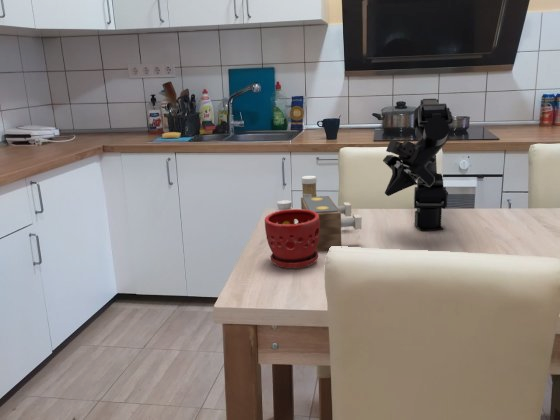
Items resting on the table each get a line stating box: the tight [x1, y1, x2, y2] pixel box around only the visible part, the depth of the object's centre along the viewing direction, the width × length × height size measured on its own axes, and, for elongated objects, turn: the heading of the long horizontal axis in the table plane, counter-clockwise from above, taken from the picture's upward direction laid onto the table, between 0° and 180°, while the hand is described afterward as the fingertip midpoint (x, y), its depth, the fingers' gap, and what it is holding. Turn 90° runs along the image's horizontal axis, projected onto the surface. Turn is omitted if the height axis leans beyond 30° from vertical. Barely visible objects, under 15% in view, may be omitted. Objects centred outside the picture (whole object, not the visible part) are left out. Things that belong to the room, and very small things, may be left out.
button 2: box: [341, 213, 363, 231], centre depth 140 cm, size 10×3×3 cm, turn 94°
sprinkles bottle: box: [301, 175, 317, 198], centre depth 167 cm, size 5×5×14 cm
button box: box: [300, 195, 342, 253], centre depth 146 cm, size 8×19×10 cm, turn 4°
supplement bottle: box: [275, 199, 296, 224], centre depth 152 cm, size 5×5×10 cm
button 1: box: [335, 202, 352, 217], centre depth 152 cm, size 10×3×3 cm, turn 94°
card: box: [302, 195, 338, 213], centre depth 145 cm, size 7×16×1 cm, turn 4°
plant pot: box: [264, 208, 320, 269], centre depth 130 cm, size 13×13×12 cm
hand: (386, 194), depth 138 cm, fingers closed
